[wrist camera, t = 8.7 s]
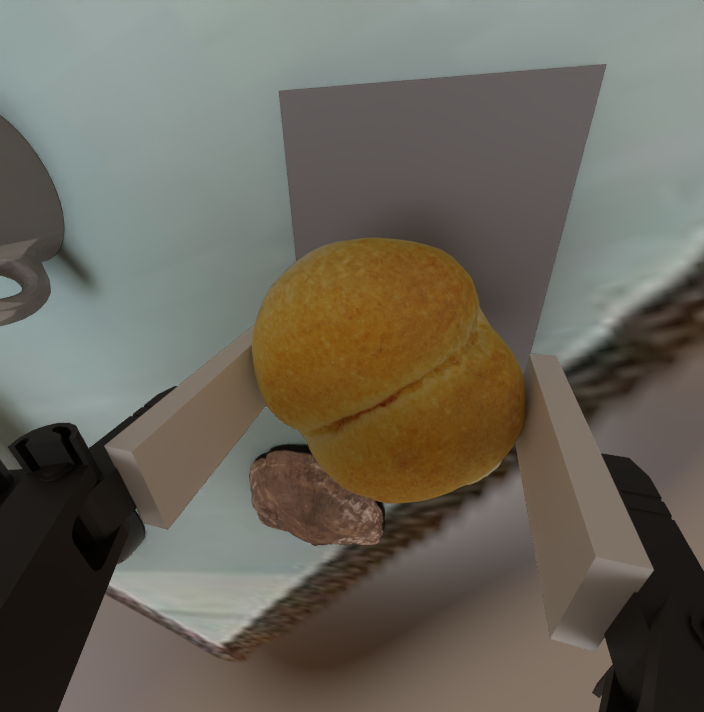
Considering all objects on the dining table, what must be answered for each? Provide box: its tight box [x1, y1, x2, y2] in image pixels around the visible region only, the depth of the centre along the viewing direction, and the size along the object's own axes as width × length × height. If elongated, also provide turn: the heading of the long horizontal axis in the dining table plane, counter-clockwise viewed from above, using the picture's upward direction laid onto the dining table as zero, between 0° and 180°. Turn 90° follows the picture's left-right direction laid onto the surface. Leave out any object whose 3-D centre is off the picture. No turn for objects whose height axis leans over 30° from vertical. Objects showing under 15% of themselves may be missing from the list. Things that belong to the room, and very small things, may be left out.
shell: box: [249, 445, 385, 546], centre depth 29 cm, size 12×13×4 cm
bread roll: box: [252, 237, 526, 503], centre depth 11 cm, size 8×9×4 cm
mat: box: [279, 64, 607, 375], centre depth 19 cm, size 19×13×1 cm
